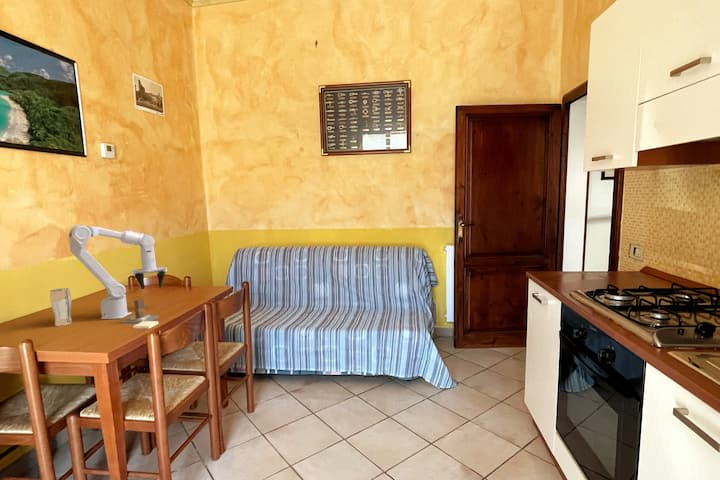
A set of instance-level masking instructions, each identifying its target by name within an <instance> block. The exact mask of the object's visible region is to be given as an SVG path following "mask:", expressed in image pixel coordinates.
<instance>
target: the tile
mask: <svg viewBox="0 0 720 480" xmlns="http://www.w3.org/2000/svg"><path fill="white" fill-rule="evenodd" d="M158 324H159V321H158V320H157V321H156V320H153V321H142V322H140V323H135V324H134V325H133V326H132V329H138V330H139V329H141V330H142V329H144V330H145V329H146V330H147V329H151V328H153V327H156V325H158Z"/></svg>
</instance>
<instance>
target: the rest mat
mask: <svg viewBox="0 0 720 480" xmlns="http://www.w3.org/2000/svg"><path fill="white" fill-rule="evenodd" d="M134 317H136V315H132V316H130V317H128V318H126V319H124V320H122V321H121V322H120V323H121V324H138V323H140V322H142V321H131V319H132V318H134ZM158 318H160V315H150V317H148V318H147V319H145V320H143V321H156V319H158Z"/></svg>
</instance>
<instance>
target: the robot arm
mask: <svg viewBox="0 0 720 480" xmlns="http://www.w3.org/2000/svg"><path fill="white" fill-rule="evenodd" d="M68 233H69V234H68V240H69V241H68V242H69V251H70V253H71V254H72V255H74V257H76V258H77V260H78V261H79V262H80V263H81V264H82V265H83V266H84V267H85V268H86V269H87V270H88V271H89V272H90V273H91V274H92V275H93V276H94V277H95V278H96V279H97V280H98V281H99V282H100V284H102V286H103V287H104V288H105V291H106V293H107V297H104V298H102V300H101V302H100V312H101V318H100V319H101V320H107V319H108V320H111V319H113V320H114V319H115V320H117V319H123V318H125V317H127V316H129V315H131V314H133V311H132V312H131V311H128V305H127V303H128V302H127V295H126V292H127V289H126V287H125V285H123V284H121V282H120V281H116V279H115V278H114V277H112V276H111V275H110V273H109V272H108V271H107V270H106V269H105V268H104V267H103V266H102V265H101V264H100V263H99V262H98V261H97V259H95V258H94V256H93V255H92V254H91V253H90V252H88V250H87V249H86V247H87V243H88V241H89V239H90V238H91V237H92V238H95V237H99V236H102V237H108V238H114V239H118V240H120V241H121V243H124V244H129V245H134V246H139V247H140V249H139V250H140V258H141V259H140V260H141V265H142V266H141V267H142V269H133V270H131V272H132V273H131V274H132V275H133V276H134V278H135V279H136V281H137V282H138V284H139V286H140V289H141V290H144V289H145V280H144V278H145V276H144V275H145V274H153V273H154V274H155V273H156V277H157V280H158V288H160V289H161V288H162V287H163V282H164V277H165V275H166V272H168V267H167V266H165V267H157V262H156V254H155V246H154V245H155V243H156V240H155V238H154V237H153V236H152V235H150V234H146V233H143V232H136V231H133V229H127V230H124V231H118V230H117V231H116V230H113V229H110V228H109V229H108V228H103V227H101V226H93V225H82V224H77V225H74V226H72V227H71V229H70V230H69V232H68Z"/></svg>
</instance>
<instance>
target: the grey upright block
mask: <svg viewBox="0 0 720 480" xmlns="http://www.w3.org/2000/svg"><path fill="white" fill-rule="evenodd" d="M133 305H134V312H135V313H134V314H135V315H134V316H136V317H134V318H132V319H131V321H143V320H145V319H147V318H148V317H150V316H151V314H146V311H145V302H144V298H141V297H140V298H137V299H136V300H134V302H133Z"/></svg>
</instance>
